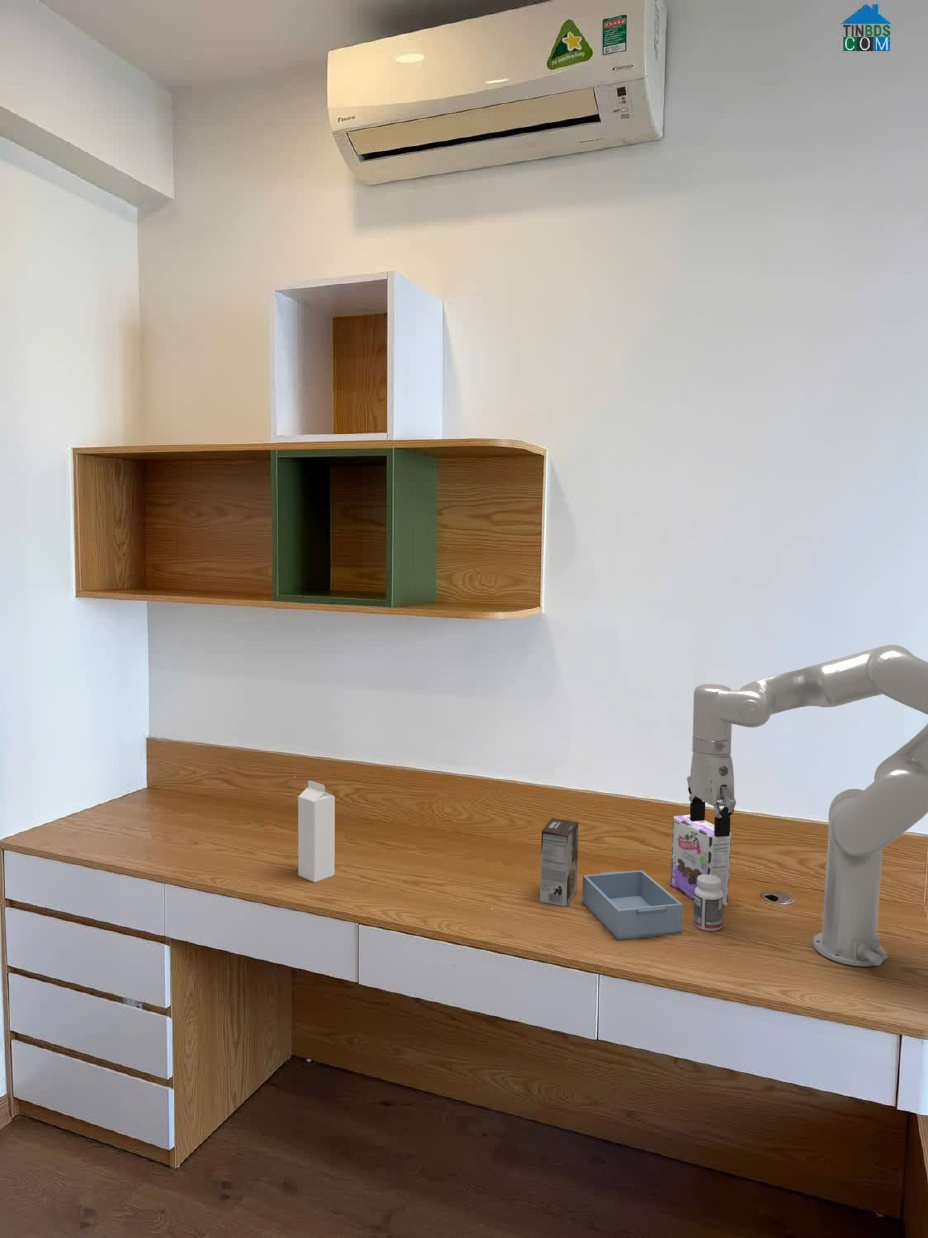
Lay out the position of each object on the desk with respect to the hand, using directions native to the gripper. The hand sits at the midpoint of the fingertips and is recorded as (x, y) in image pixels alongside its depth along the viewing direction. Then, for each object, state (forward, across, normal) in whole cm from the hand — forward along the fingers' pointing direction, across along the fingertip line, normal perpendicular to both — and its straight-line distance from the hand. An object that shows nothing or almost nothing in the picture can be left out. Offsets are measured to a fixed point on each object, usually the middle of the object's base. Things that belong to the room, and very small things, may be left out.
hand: (709, 828), depth 172 cm
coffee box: (+20, +19, +26) cm, 38 cm away
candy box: (+20, +14, -6) cm, 25 cm away
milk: (+19, +41, +77) cm, 89 cm away
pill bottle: (+20, 0, 0) cm, 21 cm away
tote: (+20, +6, +14) cm, 25 cm away
